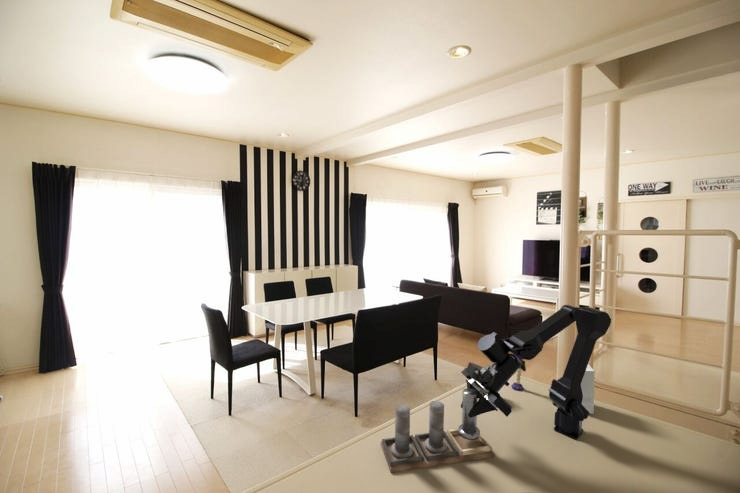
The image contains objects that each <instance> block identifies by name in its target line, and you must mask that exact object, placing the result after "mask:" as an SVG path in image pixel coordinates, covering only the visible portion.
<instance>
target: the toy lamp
mask: <svg viewBox="0 0 740 493" xmlns="http://www.w3.org/2000/svg"><path fill="white" fill-rule="evenodd" d="M514 355H515V354H514ZM515 356H516V355H515ZM516 357H517V358H518V359H522V360H523V361H524V359H523V358H522V357H519V356H516ZM521 377H522V370H521V369H520V368H519V369H518V370H517V371H516V372H515V380H514V381H515V382H513V383H512V384H511V388H512V389H513V390H515V391H518V392H519V391H520V392H521V391H524V386H523V384H522V383H521Z"/></svg>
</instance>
